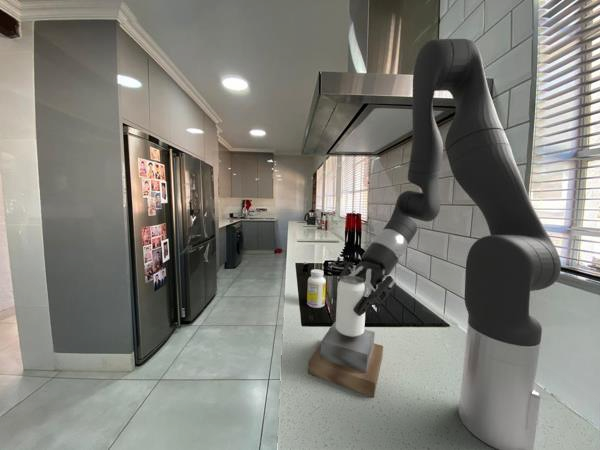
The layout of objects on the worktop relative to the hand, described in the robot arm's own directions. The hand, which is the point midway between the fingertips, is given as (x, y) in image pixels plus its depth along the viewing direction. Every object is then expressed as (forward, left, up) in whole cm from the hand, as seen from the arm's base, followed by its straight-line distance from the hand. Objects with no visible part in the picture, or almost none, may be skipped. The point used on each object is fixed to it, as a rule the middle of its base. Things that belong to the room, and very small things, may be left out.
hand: (345, 307), depth 54 cm
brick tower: (-1, -1, -14) cm, 14 cm away
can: (-1, -1, -6) cm, 6 cm away
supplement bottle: (+18, -29, -15) cm, 37 cm away
